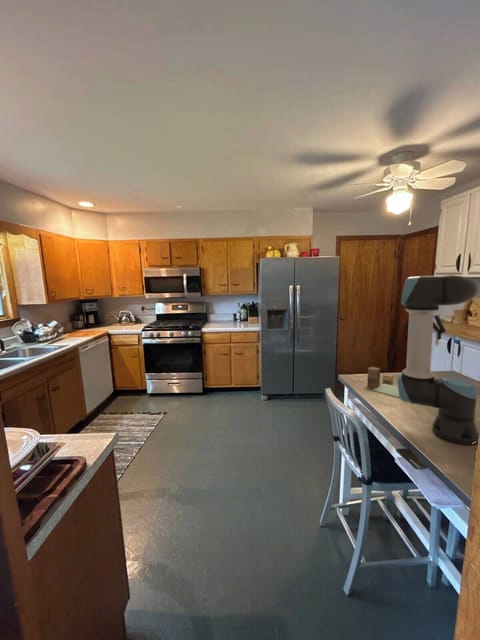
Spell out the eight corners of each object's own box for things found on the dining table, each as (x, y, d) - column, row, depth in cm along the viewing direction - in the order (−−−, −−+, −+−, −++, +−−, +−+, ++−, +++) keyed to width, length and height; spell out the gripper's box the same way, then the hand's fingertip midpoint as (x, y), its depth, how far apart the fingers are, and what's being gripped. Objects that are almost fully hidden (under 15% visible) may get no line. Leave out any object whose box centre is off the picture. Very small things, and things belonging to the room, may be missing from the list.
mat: (398, 397, 151) (398, 396, 151) (372, 390, 162) (372, 389, 162) (409, 390, 160) (409, 389, 160) (384, 384, 171) (384, 383, 171)
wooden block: (375, 388, 165) (376, 370, 164) (367, 386, 169) (367, 368, 168) (379, 386, 168) (380, 368, 167) (371, 383, 172) (372, 366, 171)
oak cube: (391, 384, 170) (392, 376, 170) (382, 382, 173) (382, 375, 173) (393, 382, 174) (393, 374, 174) (384, 380, 177) (384, 372, 177)
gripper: (454, 306, 148) (451, 345, 151) (404, 303, 168) (402, 338, 171) (449, 307, 143) (446, 347, 146) (398, 304, 163) (396, 340, 166)
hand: (422, 343), depth 158 cm, fingers open, 13 cm apart
